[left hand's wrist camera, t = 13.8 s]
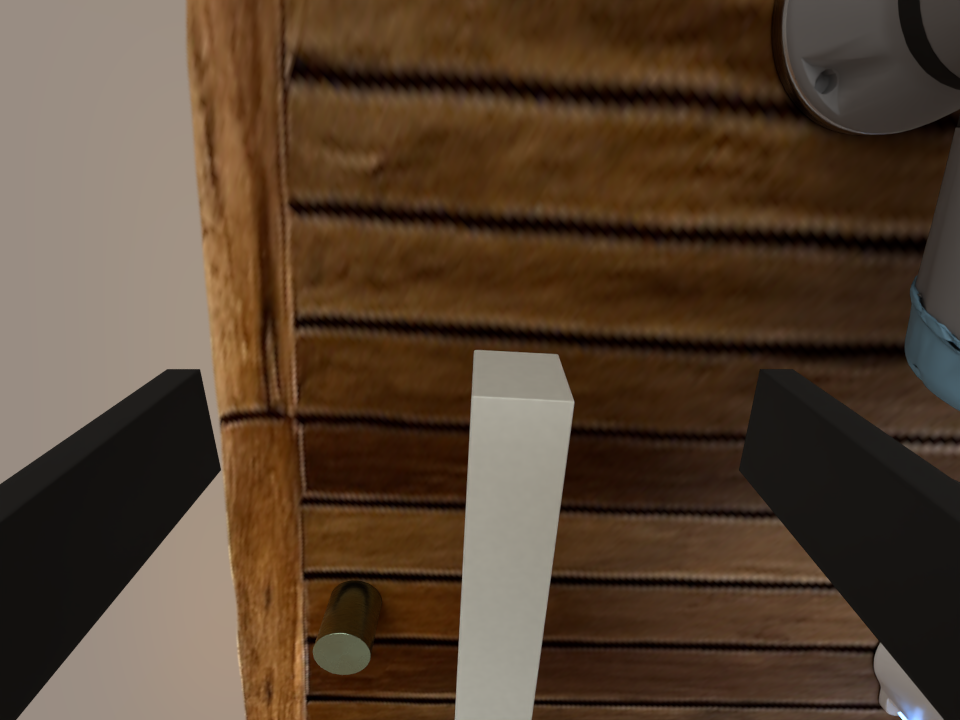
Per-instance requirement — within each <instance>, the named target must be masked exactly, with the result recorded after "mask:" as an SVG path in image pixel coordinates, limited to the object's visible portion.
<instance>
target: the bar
mask: <svg viewBox="0 0 960 720" xmlns="http://www.w3.org/2000/svg"><path fill="white" fill-rule="evenodd" d="M573 410H574V399H573V396H572V394H571V391H570V388H569V385H568V382H567V379H566V376H565V373H564V370H563V368H562V365H561V362H560V359H559V356H558V355H557V354H542V353H523V352H504V351H485V350H475V351H474V361H473V380H472V399H471V418H470V438H469V457H468V476H467V495H466V515H465V534H464V553H463V572H462V591H461V611H460V630H459V649H458V668H457V688H456V707H455V720H532V713H533V706H534V698H535V691H536V683H537V676H538V669H539V661H540V654H541V646H542V639H543V632H544V624H545V617H546V609H547V602H548V595H549V587H550V580H551V573H552V565H553V558H554V550H555V543H556V536H557V528H558V521H559V513H560V506H561V499H562V491H563V484H564V476H565V469H566V462H567V454H568V447H569V439H570V432H571V425H572V417H573Z"/></svg>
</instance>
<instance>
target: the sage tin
mask: <svg viewBox="0 0 960 720" xmlns="http://www.w3.org/2000/svg"><path fill="white" fill-rule="evenodd" d="M381 605H382V599H381V596H380V594H379V592H378V591H377V590H376V589H375V588H374V587H373V586H371V585H369V584H367V583H365V582H361V581H348V582H344V583H342V584H340V585H338V586H337V587H336V588H335V589H334V590H333V592H332V594H331V597H330V600H329V603H328V606H327V609H326V612H325V615H324V618H323V621H322V624H321V627H320V630H319V633H318V636H317V639H316V642H315V645H314V648H313V655H314V658H315V660H316V662H317V663H318V665H320V666H321V667H322V668H323V669H325V670H327V671H329V672H331V673H335V674H341V675H348V674H353V673H357V672H359V671H361V670H362V669H364V668H365V667H366V666H367V664H368V663H369V661H370V657H371V652H372V647H373V643H374V638H375V633H376V629H377V624H378V619H379V614H380V610H381Z"/></svg>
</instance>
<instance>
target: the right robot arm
mask: <svg viewBox="0 0 960 720" xmlns="http://www.w3.org/2000/svg"><path fill="white" fill-rule="evenodd" d="M874 671H875V674H876V677H877V679H878V681H879V683H880V686H881V690H880V695H879V704H880V705H881V706H882V707H883V709H884V710H885V711H886V712H887V713H888V714H890V715H894V716H900V717H901V718H902V719H903V720H944V719H943V718H942V717H941V716H940V714H939V713H938V712H937V711H936V710H935V708H934V707H933V706H932V705H931V703H930V702H929V701H928V700H927V699H926V697H925V696H924V695H923V694H922V693H921V691H920V690H919V689H918V688H917V686H916V685H915V684H914V683H913V682H912V680H911V679H910V678H909V677H908V675H907V674H906V673H905V672H904V671H903V669H902V668H901V667H900V666H899V664H898V663H897V662H896V661H895V660H894V658H893V657H892V656H891V655H890V653H889V652H888V651H887V650H886V649H885V647H884V646H883V645H882V644H881V643H880V644H879V646H878V648H877V650H876V653H875V657H874Z"/></svg>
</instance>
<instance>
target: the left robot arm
mask: <svg viewBox="0 0 960 720" xmlns="http://www.w3.org/2000/svg"><path fill="white" fill-rule="evenodd" d="M772 45H773V53H774V59H775V63H776V68H777V71H778V74H779V77H780V80H781V82H782V84H783V86H784V88H785V90H786V92H787V94H788V95H789V97H790V99H791V100H792V101H793V102H794V104H795V105H796V106H797V107H798V108H799V109H800V110H801V111H802V112H803V113H804V114H805V115H806V116H807V117H808V118H810V119H811V120H812V121H814V122H816V123H817V124H819V125H821V126H823V127H825V128H827V129H829V130H832V131H836V132H839V133H843V134H849V135H881V134H893V133H899V132H904V131H908V130H912V129H914V128H917V127H920V126H923V125H926V124H929V123H931V122H934V121H936V120H938V119H940V118H942V117H944V116H947V115H949V114H951V113H953V112H955V111H957V110H959V109H960V0H775V5H774V12H773V23H772ZM956 127H958V128H955V132H954V136H953V140H952V144H951V148H950V152H949V156H948V160H947V164H946V168H945V173H944V177H943V181H942V185H941V189H940V193H939V197H938V201H937V205H936V209H935V213H934V217H933V221H932V225H931V228H930V232H929V236H928V239H927V243H926V247H925V250H924V254H923V258H922V261H921V265H920V269H919V272H918V275H917V276H916V277H915V278H914V281H913V283H912V285H911V288H910V298H911V302H912V305H911V312H910V318H909V323H908V328H907V333H906V338H905V355H906V358H907V361H908V364H909V366H910V367H911V369H912V370H913V372H914V373H915V374H916V376H917V377H918V378H919V379H921V380H922V381H923V383H924V385H925V386H926V387H927V388H928V389H929V390H930V391H931V392H932V393H934V394H935V395H936V396H937V397H939V398H940V399H942V400H943V401H944V402H946V403H947V404H949V405H951V406H952V407H954V408H955V409H957V410H959V411H960V116H959V120H958V124H957V126H956ZM220 471H221V468H220V463H219V458H218V453H217V449H216V444H215V439H214V434H213V429H212V425H211V420H210V415H209V410H208V405H207V401H206V396H205V391H204V386H203V382H202V377H201V372H200V369H167V370H166V371H164V372H163V373H161V374H160V375H158V376H157V377H155V378H154V379H153V380H151V381H150V382H148V383H147V384H145V385H144V386H142V387H141V388H139V389H138V390H136V391H135V392H134V393H132V394H131V395H129V396H128V397H126V398H125V399H123V400H122V401H121V402H119V403H118V404H116V405H115V406H113V407H112V408H110V409H109V410H107V411H106V412H105V413H103V414H102V415H100V416H99V417H97V418H96V419H94V420H93V421H91V422H90V423H89V424H87V425H86V426H84V427H83V428H81V429H80V430H78V431H77V432H75V433H74V434H73V435H71V436H70V437H68V438H67V439H65V440H64V441H62V442H61V443H60V444H58V445H57V446H55V447H54V448H52V449H51V450H49V451H48V452H46V453H45V454H44V455H42V456H41V457H39V458H38V459H36V460H35V461H33V462H32V463H31V464H29V465H28V466H26V467H25V468H23V469H22V470H20V471H19V472H17V473H16V474H14V475H13V476H12V477H10V478H9V479H7V480H6V481H4V482H3V483H1V484H0V720H16V719H17V718H18V717H19V716H20V714H21V713H22V712H23V711H24V710H25V708H26V707H27V706H28V705H29V703H30V702H31V701H32V700H33V699H34V697H35V696H36V695H37V694H38V693H39V691H40V690H41V689H42V688H43V686H44V685H45V684H46V683H47V682H48V680H49V679H50V678H51V677H52V675H53V674H54V673H55V672H56V671H57V669H58V668H59V667H60V666H61V664H62V663H63V662H64V661H65V660H66V658H67V657H68V656H69V655H70V653H71V652H72V651H73V650H74V649H75V647H76V646H77V645H78V644H79V643H80V641H81V640H82V639H83V638H84V636H85V635H86V634H87V633H88V632H89V630H90V629H91V628H92V627H93V625H94V624H95V623H96V622H97V621H98V619H99V618H100V617H101V616H102V614H103V613H104V612H105V611H106V610H107V608H108V607H109V606H110V605H111V603H112V602H113V601H114V600H115V599H116V597H117V596H118V595H119V594H120V593H121V591H122V590H123V589H124V588H125V586H126V585H127V584H128V583H129V582H130V580H131V579H132V578H133V577H134V575H135V574H136V573H137V572H138V571H139V569H140V568H141V567H142V566H143V564H144V563H145V562H146V561H147V560H148V558H149V557H150V556H151V555H152V553H153V552H154V551H155V550H156V549H157V547H158V546H159V545H160V544H161V543H162V541H163V540H164V539H165V538H166V536H167V535H168V534H169V533H170V532H171V530H172V529H173V528H174V527H175V525H176V524H177V523H178V522H179V521H180V519H181V518H182V517H183V516H184V514H185V513H186V512H187V511H188V510H189V508H190V507H191V506H192V505H193V504H194V502H195V501H196V500H197V499H198V497H199V496H200V495H201V494H202V493H203V491H204V490H205V489H206V488H207V486H208V485H209V484H210V483H211V482H212V480H213V479H214V478H215V477H216V475H217V474H218V473H219V472H220ZM739 471H740V472H741V473H742V474H743V475H744V477H745V478H746V479H747V480H748V482H749V483H750V484H751V485H752V486H753V488H754V489H755V490H756V491H757V493H758V494H759V495H760V496H761V497H762V499H763V500H764V501H765V502H766V504H767V505H768V506H769V507H770V508H771V510H772V511H773V512H774V513H775V514H776V516H777V517H778V518H779V519H780V521H781V522H782V523H783V524H784V525H785V527H786V528H787V529H788V530H789V532H790V533H791V534H792V535H793V536H794V538H795V539H796V540H797V541H798V543H799V544H800V545H801V546H802V547H803V549H804V550H805V551H806V552H807V554H808V555H809V556H810V557H811V558H812V560H813V561H814V562H815V563H816V564H817V566H818V567H819V568H820V569H821V571H822V572H823V573H824V574H825V575H826V577H827V578H828V579H829V580H830V582H831V583H832V584H833V585H834V586H835V588H836V589H837V590H838V591H839V593H840V594H841V595H842V596H843V597H844V599H845V600H846V601H847V602H848V603H849V605H850V606H851V607H852V608H853V610H854V611H855V612H856V613H857V614H858V616H859V617H860V618H861V619H862V621H863V622H864V623H865V624H866V625H867V627H868V628H869V629H870V630H871V632H872V633H873V634H874V635H875V636H876V638H877V639H878V640H879V641H880V643H881V644H882V645H883V646H884V647H885V649H886V650H887V651H888V652H889V653H890V655H891V656H892V657H893V658H894V660H895V661H896V662H897V663H898V664H899V666H900V667H901V668H902V669H903V671H904V672H905V673H906V674H907V675H908V677H909V678H910V679H911V680H912V682H913V683H914V684H915V685H916V686H917V688H918V689H919V690H920V691H921V693H922V694H923V695H924V696H925V697H926V699H927V700H928V701H929V702H930V703H931V705H932V706H933V707H934V708H935V710H936V711H937V712H938V713H939V714H940V716H941V717H942V718H943V719H944V720H960V482H958V481H956V480H953V479H951V478H950V477H948V476H947V475H946V474H944V473H943V472H941V471H940V470H938V469H937V468H935V467H934V466H932V465H931V464H930V463H928V462H927V461H925V460H924V459H922V458H921V457H919V456H918V455H917V454H915V453H914V452H912V451H911V450H909V449H908V448H906V447H905V446H903V445H902V444H901V443H899V442H898V441H896V440H895V439H893V438H892V437H890V436H889V435H887V434H886V433H885V432H883V431H882V430H880V429H879V428H877V427H876V426H874V425H873V424H871V423H870V422H869V421H867V420H866V419H864V418H863V417H861V416H860V415H858V414H857V413H855V412H854V411H853V410H851V409H850V408H848V407H847V406H845V405H844V404H842V403H841V402H839V401H838V400H837V399H835V398H834V397H832V396H831V395H829V394H828V393H826V392H825V391H823V390H822V389H821V388H819V387H818V386H816V385H815V384H813V383H812V382H810V381H809V380H808V379H806V378H805V377H803V376H802V375H800V374H799V373H797V372H796V371H794V370H793V369H760V372H759V377H758V382H757V386H756V391H755V396H754V401H753V405H752V410H751V415H750V420H749V425H748V429H747V434H746V439H745V444H744V448H743V453H742V458H741V463H740V468H739Z"/></svg>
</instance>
